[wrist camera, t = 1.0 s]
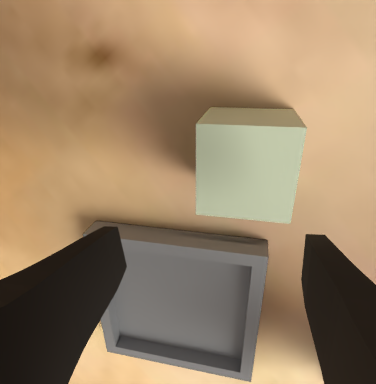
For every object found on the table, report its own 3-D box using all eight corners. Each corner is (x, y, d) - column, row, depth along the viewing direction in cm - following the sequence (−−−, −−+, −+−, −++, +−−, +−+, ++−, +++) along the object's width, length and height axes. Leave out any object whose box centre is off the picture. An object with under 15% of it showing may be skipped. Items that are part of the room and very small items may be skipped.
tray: (267, 240, 21) (268, 257, 19) (251, 360, 27) (250, 381, 25) (95, 220, 24) (82, 234, 22) (116, 334, 30) (107, 351, 28)
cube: (293, 108, 17) (306, 127, 12) (282, 184, 19) (290, 223, 15) (210, 106, 18) (195, 123, 13) (209, 179, 20) (195, 214, 16)
